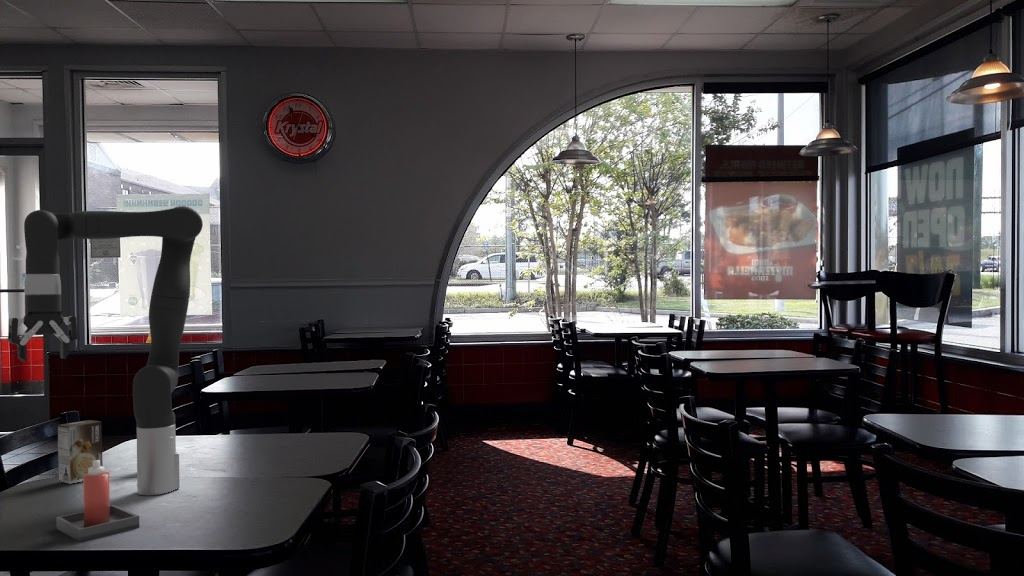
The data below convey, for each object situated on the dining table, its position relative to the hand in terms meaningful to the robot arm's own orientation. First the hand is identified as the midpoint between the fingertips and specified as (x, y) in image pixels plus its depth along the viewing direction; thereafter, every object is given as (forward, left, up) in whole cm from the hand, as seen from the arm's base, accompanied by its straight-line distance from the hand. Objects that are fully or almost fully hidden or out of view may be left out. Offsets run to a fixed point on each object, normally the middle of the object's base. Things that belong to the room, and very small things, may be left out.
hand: (43, 359), depth 180 cm
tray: (-2, +27, -36) cm, 45 cm away
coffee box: (-16, -24, -36) cm, 46 cm away
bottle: (-2, +27, -35) cm, 44 cm away
